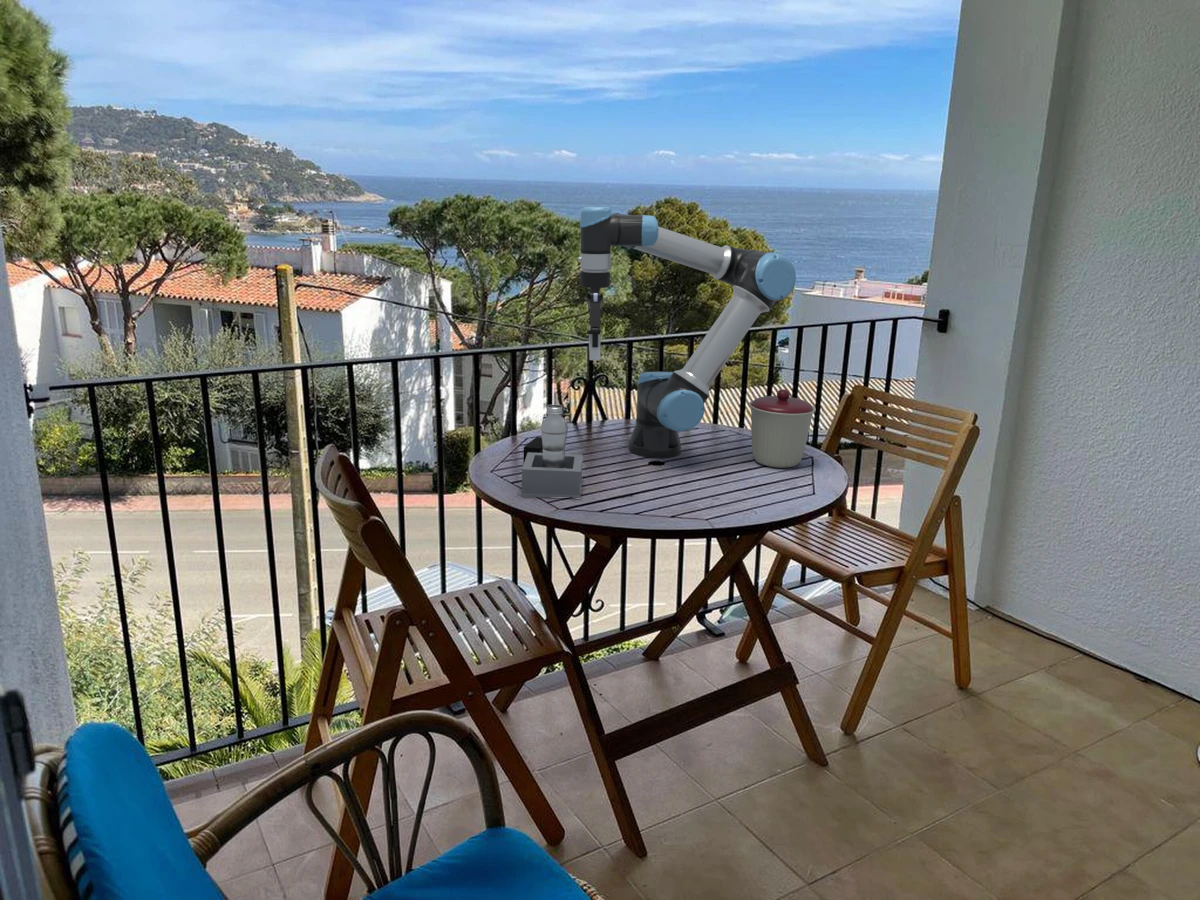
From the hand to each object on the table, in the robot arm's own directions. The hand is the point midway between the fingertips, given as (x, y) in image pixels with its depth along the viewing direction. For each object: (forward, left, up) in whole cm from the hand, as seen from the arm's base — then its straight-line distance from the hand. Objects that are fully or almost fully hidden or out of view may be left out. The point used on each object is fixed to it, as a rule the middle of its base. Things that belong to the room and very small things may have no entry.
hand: (594, 355), depth 218 cm
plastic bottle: (+9, +17, -30) cm, 36 cm away
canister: (-52, -13, -31) cm, 62 cm away
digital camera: (+14, 0, -31) cm, 34 cm away
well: (+9, +17, -31) cm, 36 cm away
